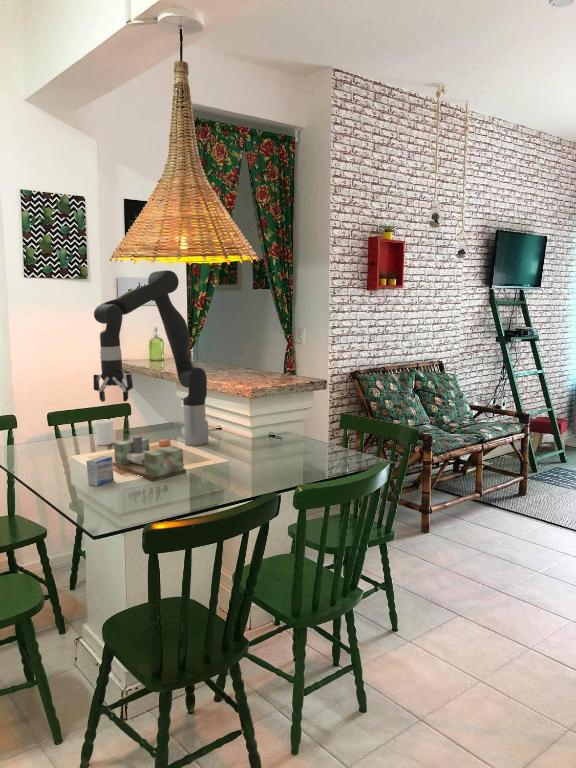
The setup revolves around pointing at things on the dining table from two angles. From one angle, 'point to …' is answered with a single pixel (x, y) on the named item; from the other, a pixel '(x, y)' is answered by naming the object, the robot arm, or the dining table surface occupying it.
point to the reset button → (164, 443)
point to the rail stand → (150, 460)
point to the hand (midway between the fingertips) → (114, 401)
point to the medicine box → (100, 470)
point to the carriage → (137, 451)
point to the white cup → (104, 431)
